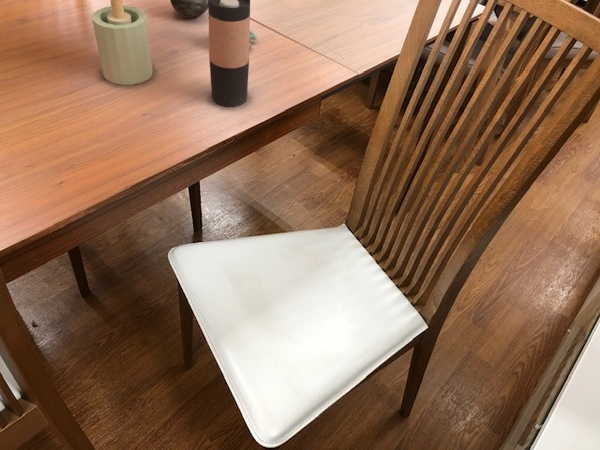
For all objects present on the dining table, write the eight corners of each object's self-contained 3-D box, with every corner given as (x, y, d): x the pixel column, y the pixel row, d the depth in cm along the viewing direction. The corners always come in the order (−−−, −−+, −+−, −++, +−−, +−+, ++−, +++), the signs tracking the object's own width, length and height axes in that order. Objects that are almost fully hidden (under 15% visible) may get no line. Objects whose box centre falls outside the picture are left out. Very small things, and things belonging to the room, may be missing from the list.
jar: (92, 73, 105) (80, 16, 97) (127, 56, 112) (119, 1, 103) (128, 90, 102) (119, 33, 94) (162, 71, 109) (156, 16, 100)
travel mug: (203, 93, 104) (199, -6, 90) (234, 84, 108) (234, -13, 94) (224, 111, 100) (223, 11, 86) (255, 100, 104) (259, 3, 90)
